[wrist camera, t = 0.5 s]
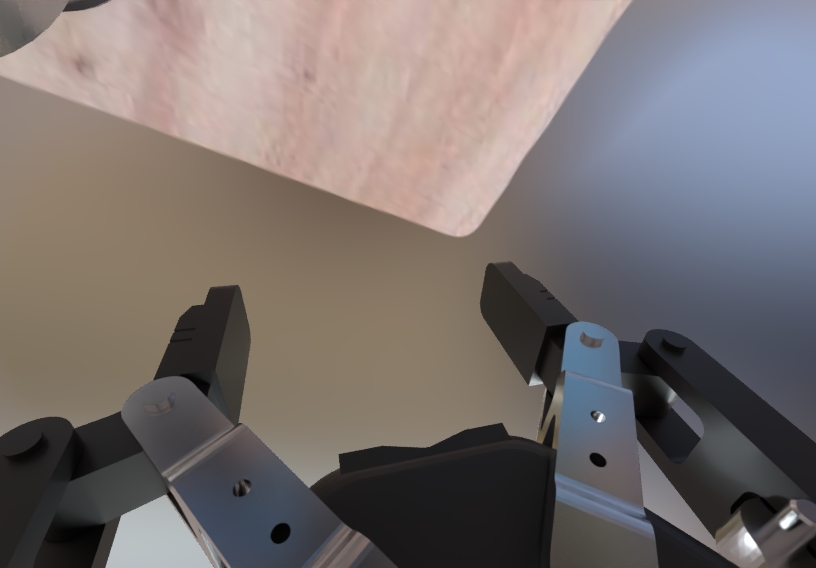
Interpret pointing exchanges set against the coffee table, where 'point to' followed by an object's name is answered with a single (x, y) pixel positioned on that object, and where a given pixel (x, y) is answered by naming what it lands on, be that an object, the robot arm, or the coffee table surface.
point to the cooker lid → (25, 21)
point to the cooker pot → (83, 4)
